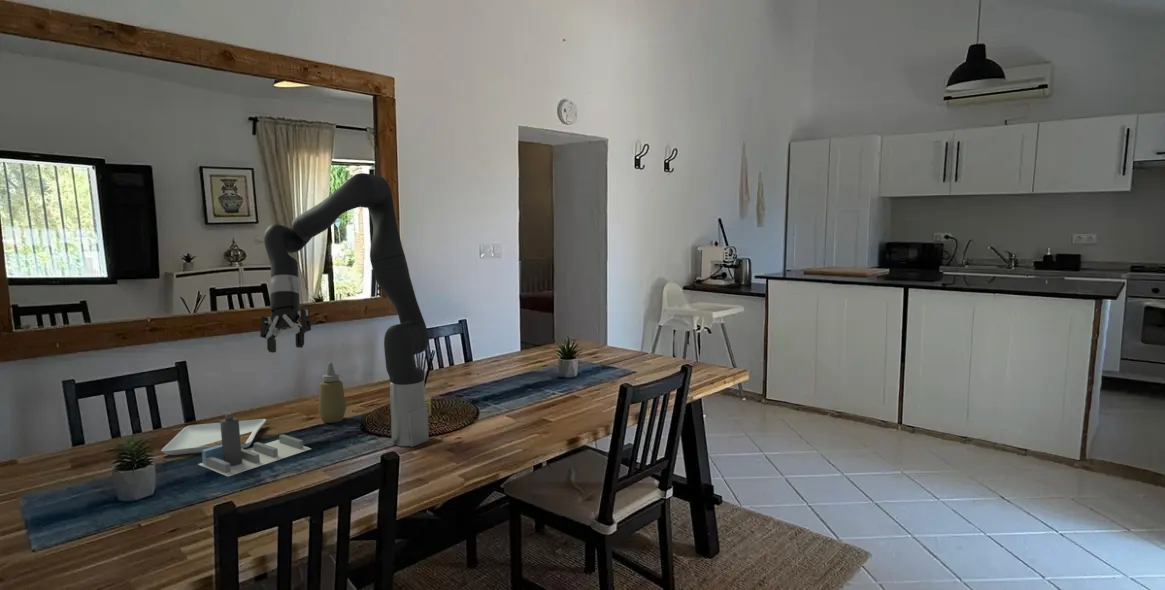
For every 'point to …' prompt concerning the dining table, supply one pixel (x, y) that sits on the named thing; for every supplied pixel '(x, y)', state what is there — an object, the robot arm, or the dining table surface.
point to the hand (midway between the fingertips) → (285, 349)
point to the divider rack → (252, 455)
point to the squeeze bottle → (331, 397)
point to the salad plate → (207, 437)
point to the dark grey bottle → (231, 440)
